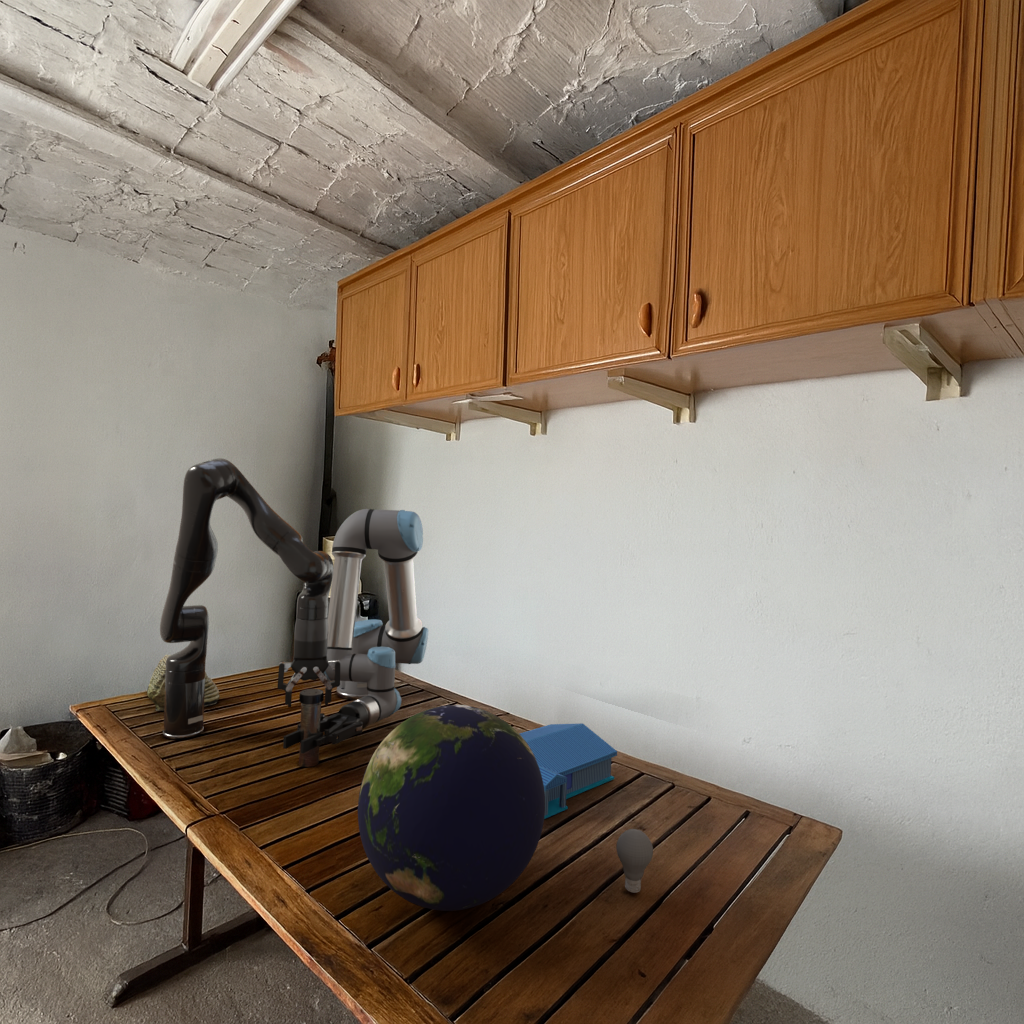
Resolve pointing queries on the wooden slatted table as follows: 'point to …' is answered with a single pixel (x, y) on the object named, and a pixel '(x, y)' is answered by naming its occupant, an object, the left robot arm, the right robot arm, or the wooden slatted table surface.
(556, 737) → the model building
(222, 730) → the wooden slatted table surface
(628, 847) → the light bulb
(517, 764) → the globe
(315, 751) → the jar
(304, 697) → the lid
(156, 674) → the fossil
